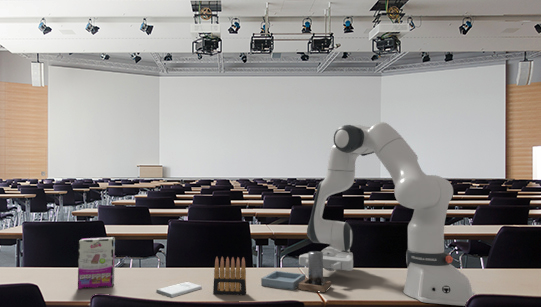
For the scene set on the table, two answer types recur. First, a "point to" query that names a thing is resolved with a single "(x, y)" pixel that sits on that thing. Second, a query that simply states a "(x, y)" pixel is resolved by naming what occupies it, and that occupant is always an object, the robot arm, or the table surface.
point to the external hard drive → (178, 289)
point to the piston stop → (315, 268)
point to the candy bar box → (96, 262)
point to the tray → (282, 280)
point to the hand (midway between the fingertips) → (319, 266)
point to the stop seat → (314, 286)
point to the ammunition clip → (229, 278)
